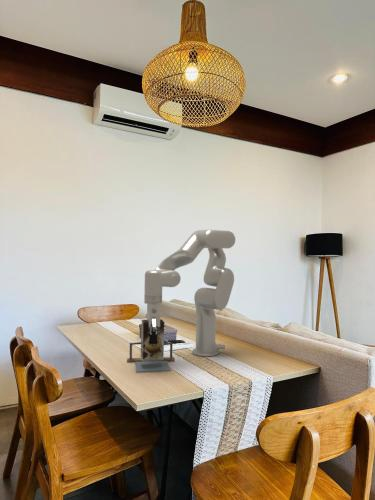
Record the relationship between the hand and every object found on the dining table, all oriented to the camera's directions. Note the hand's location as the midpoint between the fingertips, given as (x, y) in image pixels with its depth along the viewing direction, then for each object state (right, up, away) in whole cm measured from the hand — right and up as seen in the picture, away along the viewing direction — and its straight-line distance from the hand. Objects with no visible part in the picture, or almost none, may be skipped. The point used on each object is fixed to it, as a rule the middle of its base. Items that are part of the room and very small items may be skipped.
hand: (152, 341), depth 146 cm
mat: (0, -11, 0) cm, 11 cm away
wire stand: (-1, -11, +8) cm, 14 cm away
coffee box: (0, -8, 0) cm, 8 cm away
